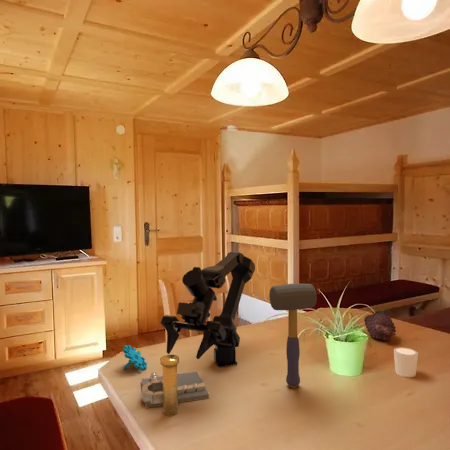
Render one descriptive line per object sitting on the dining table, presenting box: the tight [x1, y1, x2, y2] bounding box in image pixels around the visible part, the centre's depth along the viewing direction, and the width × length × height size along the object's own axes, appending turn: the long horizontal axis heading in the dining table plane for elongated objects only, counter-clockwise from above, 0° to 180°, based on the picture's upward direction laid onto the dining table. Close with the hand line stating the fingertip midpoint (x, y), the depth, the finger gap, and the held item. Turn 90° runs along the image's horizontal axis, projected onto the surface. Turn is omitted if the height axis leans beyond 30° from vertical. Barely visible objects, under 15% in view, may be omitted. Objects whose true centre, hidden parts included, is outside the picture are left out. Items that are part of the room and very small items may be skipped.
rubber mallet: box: [268, 283, 318, 388], centre depth 107 cm, size 12×8×30 cm, turn 103°
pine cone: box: [364, 312, 397, 341], centre depth 147 cm, size 18×10×10 cm, turn 10°
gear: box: [122, 344, 148, 371], centre depth 122 cm, size 11×6×10 cm
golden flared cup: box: [159, 354, 180, 417], centre depth 95 cm, size 5×5×14 cm
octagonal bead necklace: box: [141, 372, 207, 404], centre depth 106 cm, size 17×15×2 cm
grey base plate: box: [141, 371, 210, 409], centre depth 107 cm, size 17×15×1 cm
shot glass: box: [393, 347, 419, 378], centre depth 116 cm, size 7×7×7 cm
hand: (182, 355), depth 100 cm, fingers open, 9 cm apart
